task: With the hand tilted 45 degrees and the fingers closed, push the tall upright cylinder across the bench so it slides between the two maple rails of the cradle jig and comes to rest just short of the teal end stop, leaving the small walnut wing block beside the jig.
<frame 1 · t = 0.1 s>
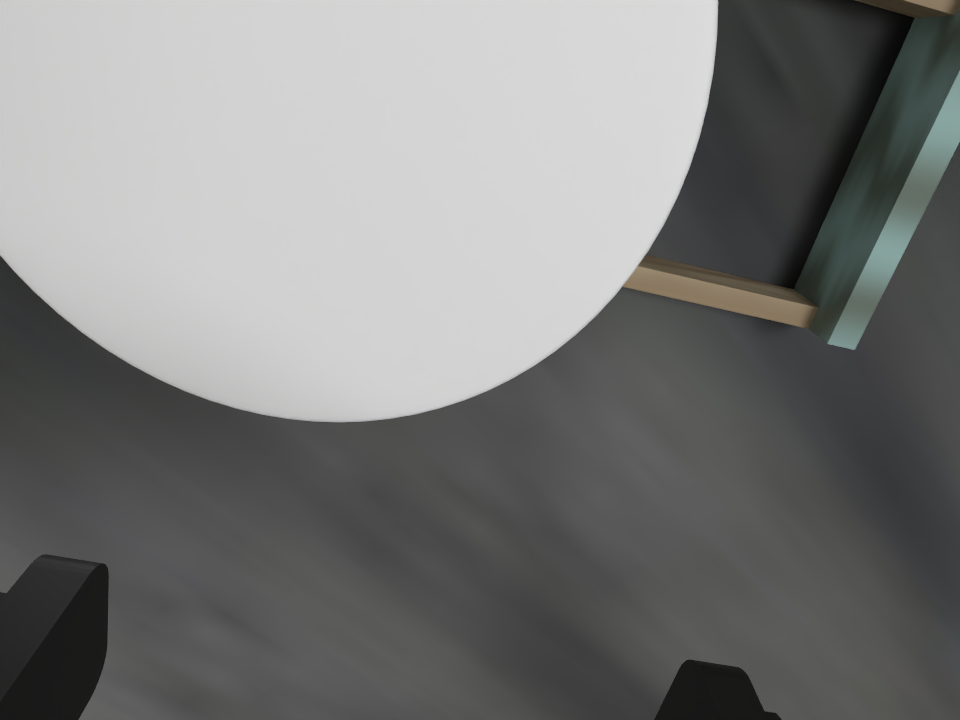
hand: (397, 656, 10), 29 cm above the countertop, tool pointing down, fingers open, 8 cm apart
cylinder: (414, 51, 33), on the countertop
cradle: (705, 126, 35), on the countertop
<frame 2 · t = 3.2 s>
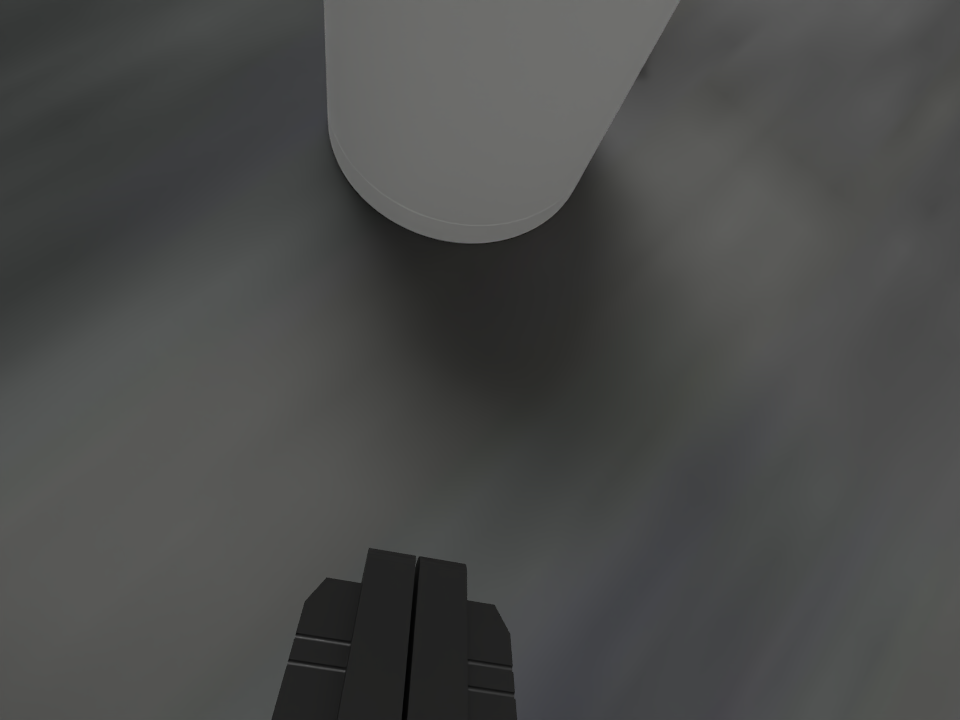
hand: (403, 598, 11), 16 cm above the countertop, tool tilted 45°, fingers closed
cylinder: (459, 131, 33), on the countertop
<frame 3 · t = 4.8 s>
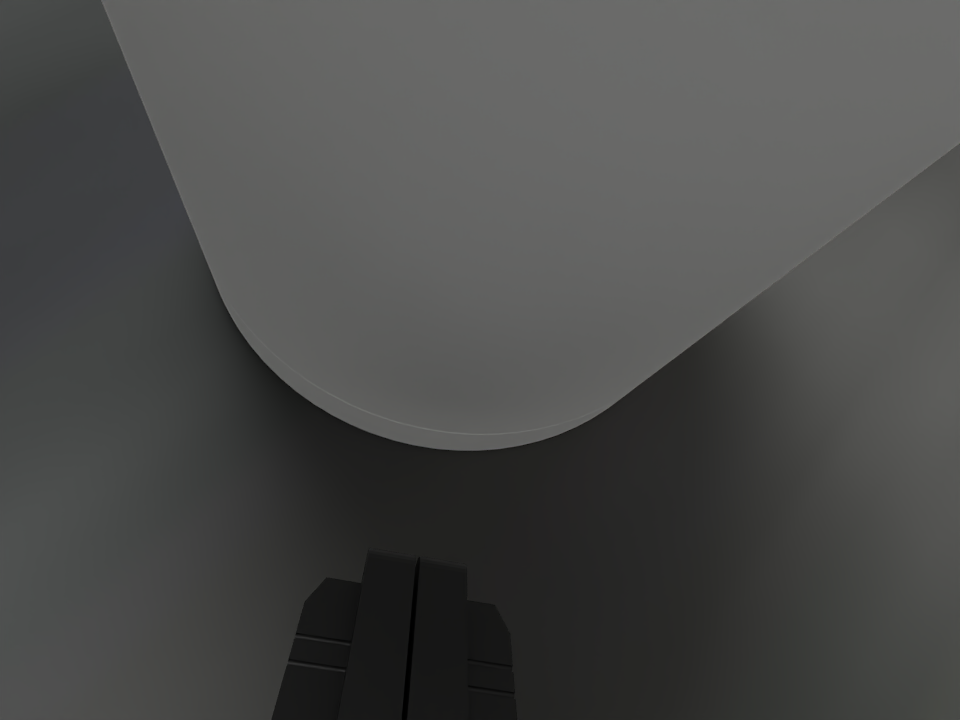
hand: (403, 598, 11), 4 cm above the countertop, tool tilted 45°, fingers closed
cylinder: (459, 216, 18), on the countertop
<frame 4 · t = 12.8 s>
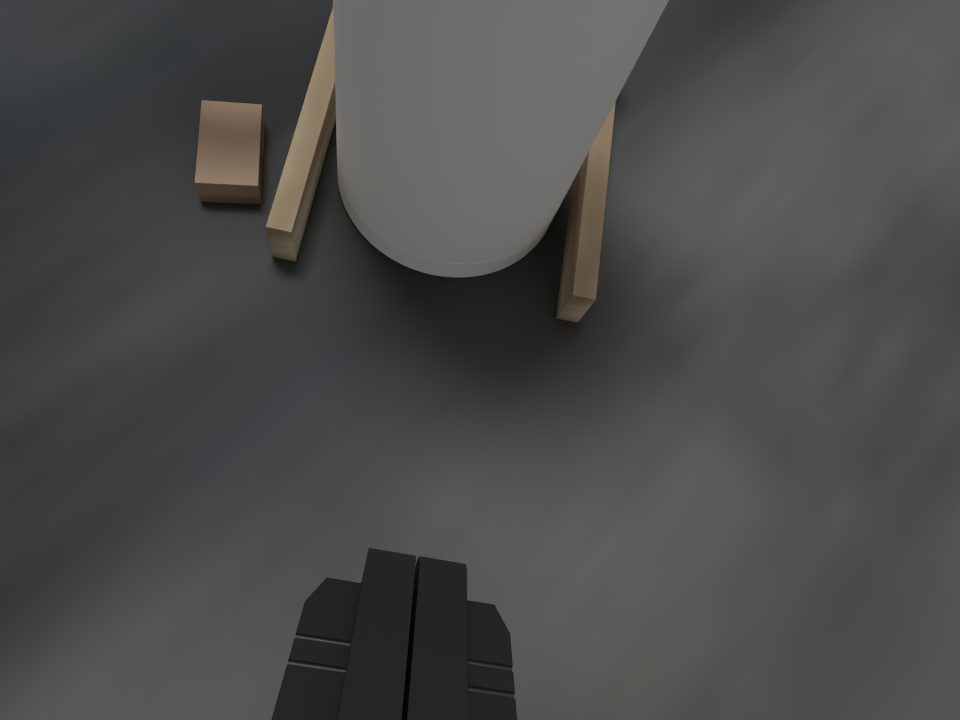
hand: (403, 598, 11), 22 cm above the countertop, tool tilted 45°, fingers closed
wing piece: (234, 165, 37), on the countertop
cylinder: (449, 180, 39), on the countertop
cradle: (453, 166, 39), on the countertop
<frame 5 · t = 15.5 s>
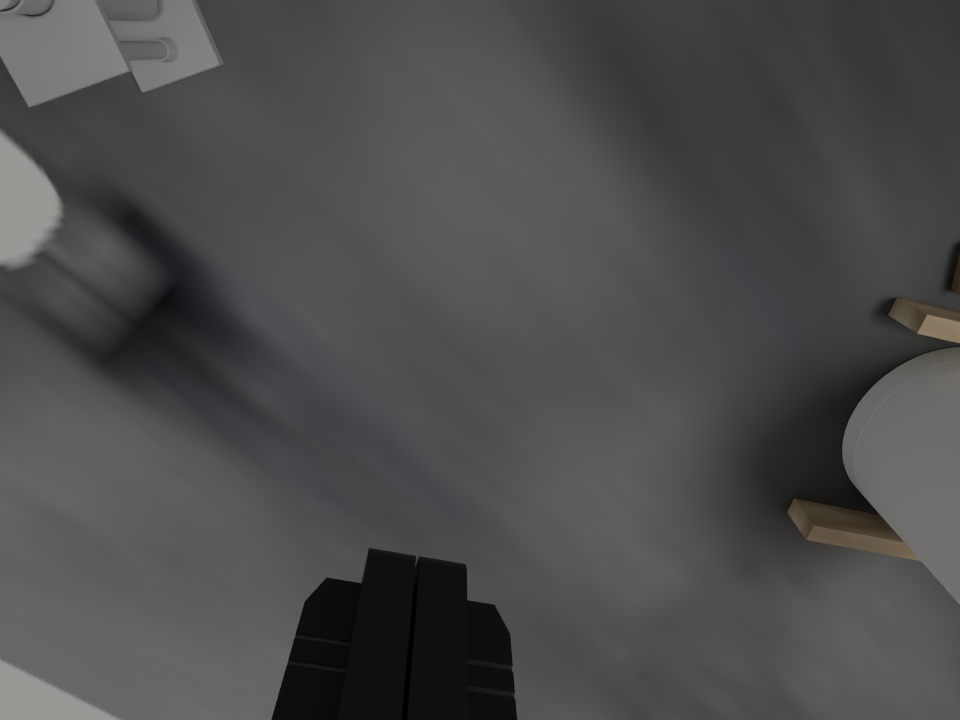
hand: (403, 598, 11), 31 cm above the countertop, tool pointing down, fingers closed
cylinder: (934, 430, 46), on the countertop
cradle: (946, 435, 46), on the countertop
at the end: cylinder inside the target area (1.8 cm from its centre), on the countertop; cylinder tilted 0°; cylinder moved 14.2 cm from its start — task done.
